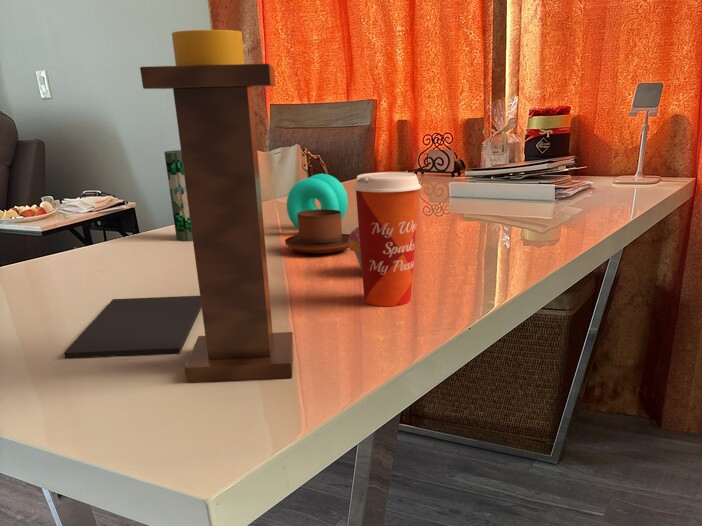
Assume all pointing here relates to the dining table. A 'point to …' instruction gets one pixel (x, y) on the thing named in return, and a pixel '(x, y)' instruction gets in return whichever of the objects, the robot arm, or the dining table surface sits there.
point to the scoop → (208, 47)
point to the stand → (226, 220)
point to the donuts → (316, 196)
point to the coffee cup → (387, 235)
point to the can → (178, 195)
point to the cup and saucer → (319, 232)
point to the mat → (138, 327)
